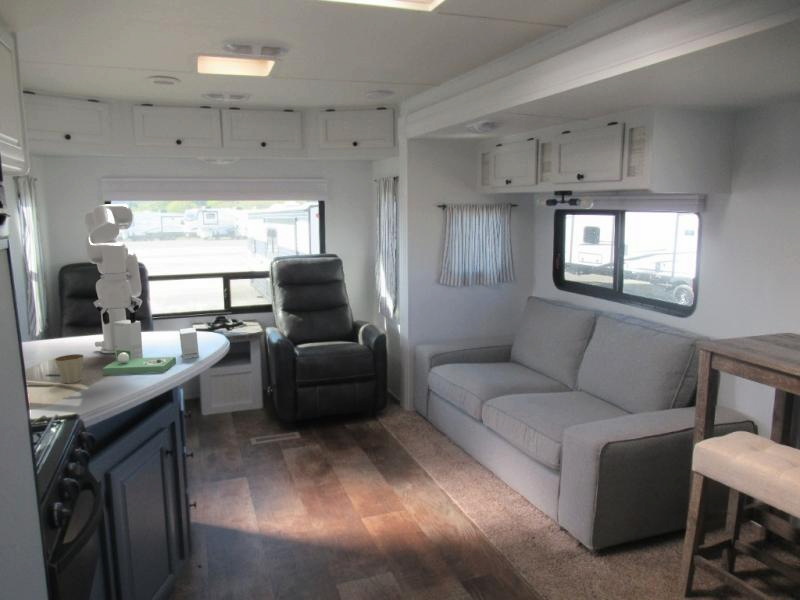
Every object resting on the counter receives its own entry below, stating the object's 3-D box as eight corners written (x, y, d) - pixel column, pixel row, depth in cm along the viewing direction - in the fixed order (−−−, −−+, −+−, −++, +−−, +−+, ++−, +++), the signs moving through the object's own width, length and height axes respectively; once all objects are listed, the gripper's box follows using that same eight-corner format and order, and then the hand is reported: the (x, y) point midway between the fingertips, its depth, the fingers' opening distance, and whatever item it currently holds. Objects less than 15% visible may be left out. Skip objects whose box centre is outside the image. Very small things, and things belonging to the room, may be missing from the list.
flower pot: (66, 386, 211) (63, 362, 210) (51, 382, 216) (48, 359, 215) (92, 379, 219) (89, 355, 218) (77, 376, 224) (74, 353, 223)
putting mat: (103, 374, 225) (102, 368, 225) (118, 364, 239) (118, 358, 239) (164, 372, 226) (163, 366, 226) (176, 362, 240) (175, 356, 239)
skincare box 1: (115, 360, 246) (111, 322, 244) (128, 356, 252) (124, 319, 250) (132, 361, 243) (128, 323, 241) (144, 357, 249) (140, 320, 247)
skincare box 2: (181, 353, 255) (179, 328, 254) (197, 351, 258) (195, 327, 256) (182, 359, 246) (180, 333, 244) (199, 357, 248) (197, 331, 247)
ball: (116, 364, 230) (115, 354, 229) (120, 361, 234) (119, 351, 233) (127, 364, 230) (126, 353, 229) (131, 361, 234) (130, 351, 233)
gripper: (87, 279, 223) (92, 326, 225) (135, 277, 223) (139, 324, 226) (96, 277, 230) (100, 322, 233) (143, 275, 231) (147, 320, 233)
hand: (120, 323), depth 229 cm, fingers open, 9 cm apart
